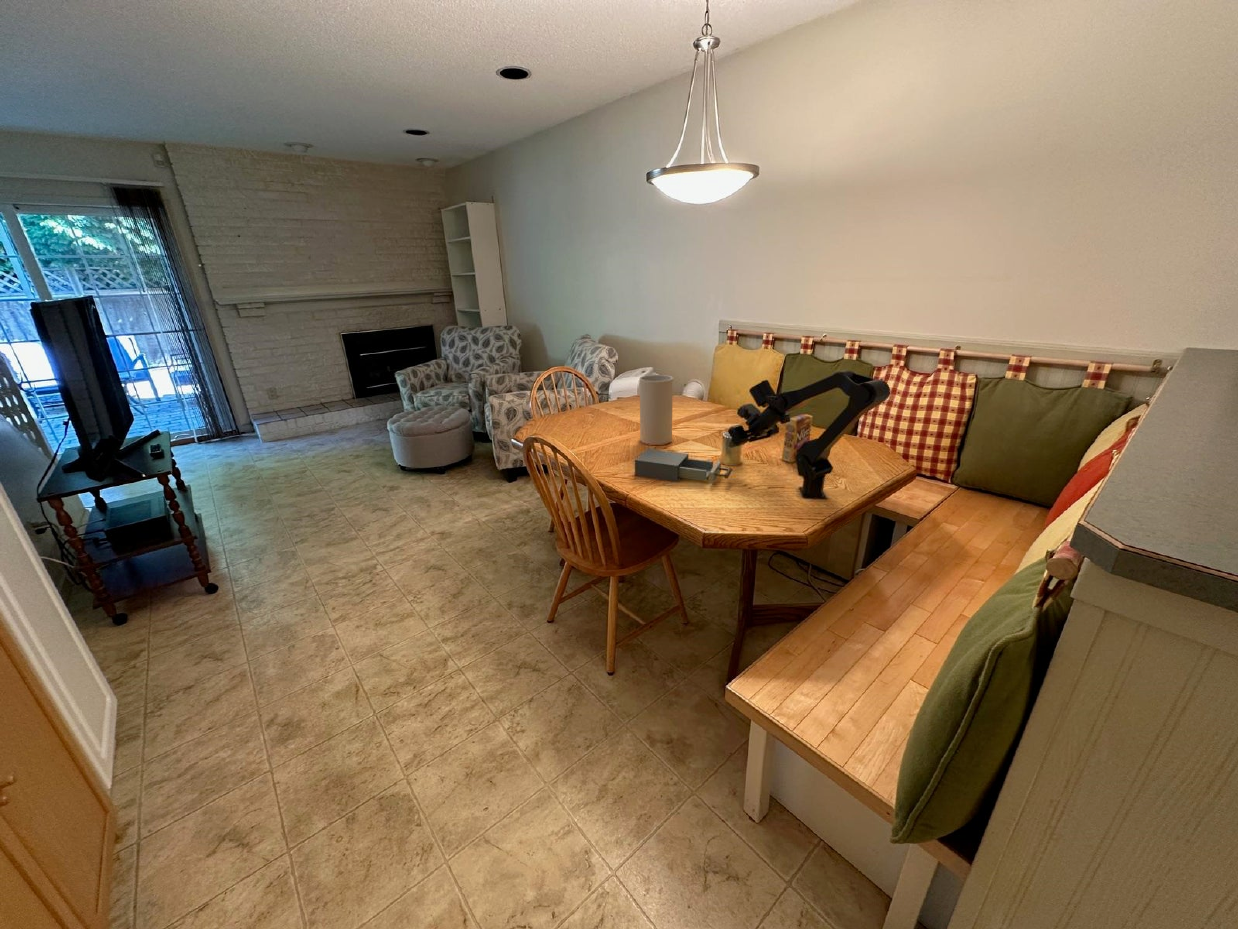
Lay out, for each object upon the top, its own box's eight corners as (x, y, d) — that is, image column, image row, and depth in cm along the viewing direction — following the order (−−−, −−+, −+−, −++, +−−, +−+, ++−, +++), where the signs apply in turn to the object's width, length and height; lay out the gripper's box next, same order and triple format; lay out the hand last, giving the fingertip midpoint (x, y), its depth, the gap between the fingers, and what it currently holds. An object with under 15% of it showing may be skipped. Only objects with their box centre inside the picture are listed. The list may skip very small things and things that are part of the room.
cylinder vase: (677, 438, 191) (678, 376, 182) (662, 447, 181) (662, 382, 172) (650, 434, 197) (650, 373, 188) (634, 442, 188) (633, 379, 179)
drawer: (733, 473, 154) (734, 462, 152) (726, 485, 145) (727, 474, 144) (681, 466, 161) (681, 455, 159) (671, 477, 152) (671, 466, 151)
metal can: (734, 466, 161) (736, 438, 158) (717, 462, 165) (718, 435, 162) (744, 461, 166) (746, 433, 162) (727, 457, 170) (728, 430, 166)
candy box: (791, 463, 163) (796, 420, 157) (781, 459, 166) (785, 417, 160) (808, 457, 167) (813, 415, 162) (797, 454, 171) (802, 413, 165)
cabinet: (688, 469, 161) (688, 453, 159) (677, 482, 151) (677, 465, 149) (647, 463, 166) (647, 448, 164) (634, 475, 157) (634, 459, 155)
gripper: (775, 393, 155) (747, 419, 167) (733, 402, 145) (707, 428, 158) (792, 421, 151) (763, 445, 164) (751, 432, 142) (723, 457, 155)
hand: (739, 443), depth 160 cm, fingers open, 9 cm apart
